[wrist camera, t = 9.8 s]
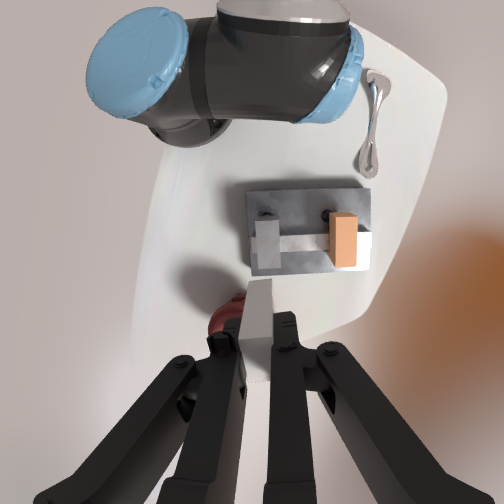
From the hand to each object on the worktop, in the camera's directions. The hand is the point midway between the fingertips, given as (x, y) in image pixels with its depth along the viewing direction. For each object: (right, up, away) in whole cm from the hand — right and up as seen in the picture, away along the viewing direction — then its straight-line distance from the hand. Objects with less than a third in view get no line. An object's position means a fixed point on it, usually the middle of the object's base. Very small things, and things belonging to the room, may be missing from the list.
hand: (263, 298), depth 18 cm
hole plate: (+8, +7, +26) cm, 28 cm away
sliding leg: (+12, +6, +22) cm, 26 cm away
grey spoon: (+19, +25, +20) cm, 37 cm away
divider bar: (+8, +6, +23) cm, 25 cm away
